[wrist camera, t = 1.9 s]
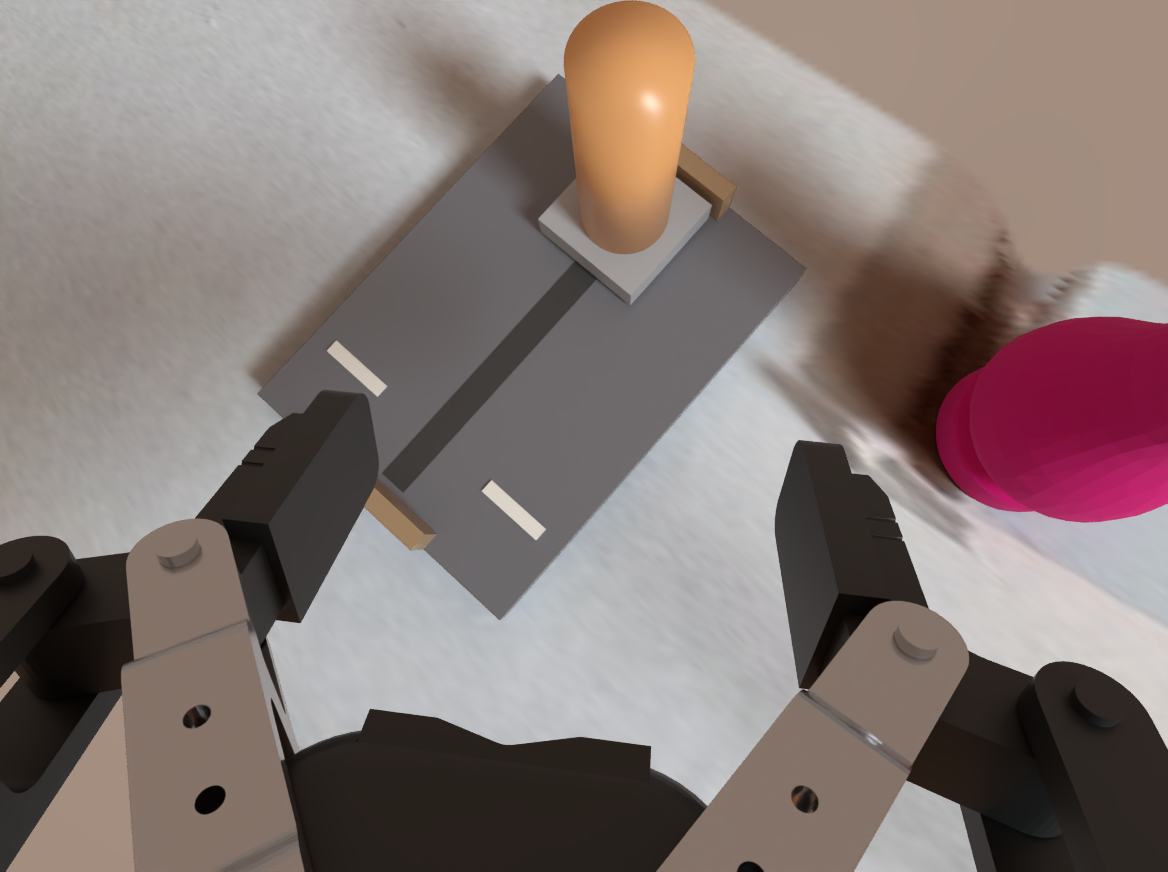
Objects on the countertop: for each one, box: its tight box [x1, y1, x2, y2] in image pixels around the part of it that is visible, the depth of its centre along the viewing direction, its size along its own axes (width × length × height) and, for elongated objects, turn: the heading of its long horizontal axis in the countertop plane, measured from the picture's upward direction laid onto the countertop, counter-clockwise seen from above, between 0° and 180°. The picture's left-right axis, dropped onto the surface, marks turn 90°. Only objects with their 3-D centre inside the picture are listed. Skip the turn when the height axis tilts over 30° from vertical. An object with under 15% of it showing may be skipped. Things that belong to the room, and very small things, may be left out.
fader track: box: [258, 74, 807, 620], centre depth 28 cm, size 14×19×3 cm
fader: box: [538, 0, 712, 305], centre depth 24 cm, size 5×5×10 cm
